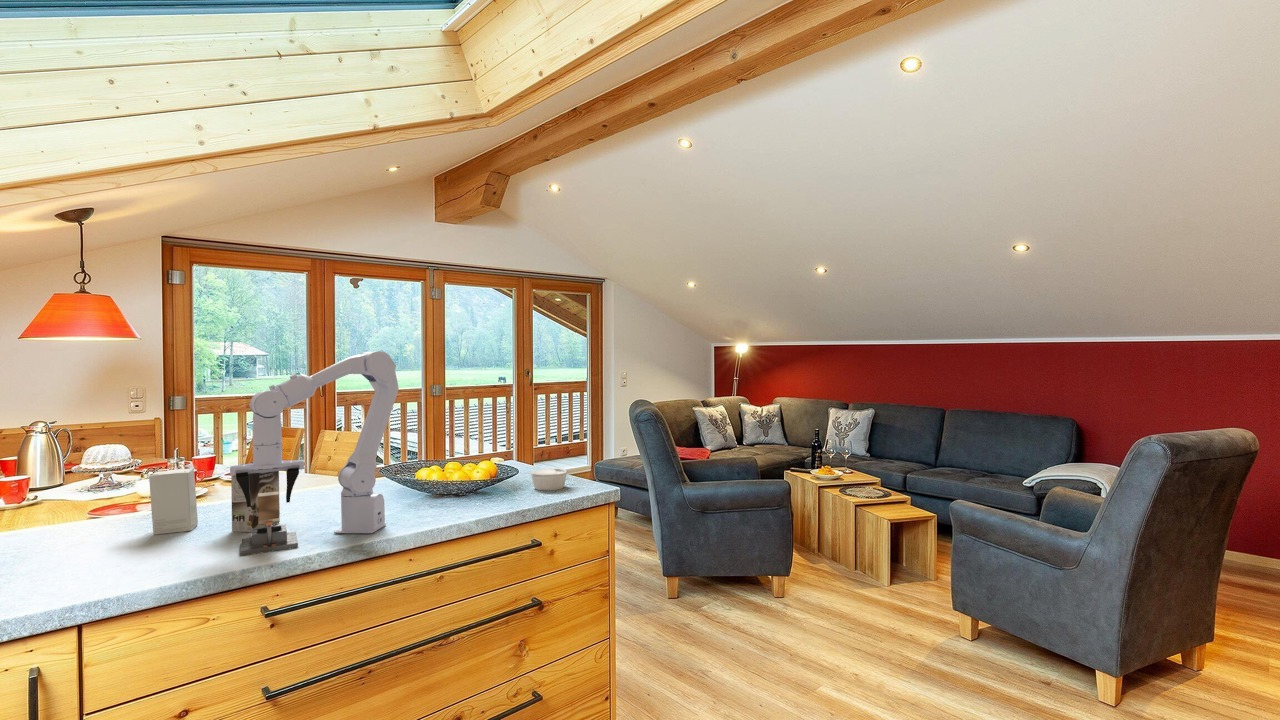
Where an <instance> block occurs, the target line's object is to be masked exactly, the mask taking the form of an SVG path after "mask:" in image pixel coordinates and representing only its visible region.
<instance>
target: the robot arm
mask: <svg viewBox="0 0 1280 720" xmlns="http://www.w3.org/2000/svg"><path fill="white" fill-rule="evenodd" d="M396 367H397V365H396V363H395V361H394V360H393V359H392V357H391V356H390V355H389V354H388V353H387V352H386V351H382V350H375V351H370V350H367V351H363V352H361V353H360V354H355V355H352V356H348V357H347V358H343V359H342V360H340V361H338V362H336V363H334V364H332V365H329V366H328V367H325V368H323V369H322V370H320V371H318V372H316V373H314V374H312V375H306V374H303V373H301V374H298V375H297V374H291V375H290V376H289V379H287V380H285V381H283V382H281V383H279V384H276V385H275V384H272V385H269V386H268V388H269V390H261V391H258V392H257V393H255V394H253V396H252V397H251V399H250V402H249V404H248V405H249V409H250V411H251V412H252V421H253V422H252V423H253V424H252V426H251V427H252V459H253V460H252V462H253V463H252V462H251V463H252V464H247V463H244V465H242V464H235V465H230V466H229V476H230V477H231V476H234V475H236V480H237V482H238V483H239V485H240V487H241V489H242V491H243V493H244V496H245V499H246V503H247V507H251V497H250V481H249V474H250V473H261V472H272V471H279V472H280V471H281V472H282V471H286V473H285V474H286V492H285V501H286V503H290V502H291V496H292V492H293V488H294V486H295V483H296V481H297V479H298V476H299V474H300V470H305V460H304V459H299V460H298V459H295V460H283V441H282V440H283V434H282V432H283V430H282V428H283V427H282V425H283V424H282V419H281V417H282V416H281V415H282V414H281V413H283V411H284V408H285V409H289V408H290V407H292V406H293V407H294V405H297V404H298V403H301V402H303V401H305V400H307V399H309V398H311V397H314V395H315V393H316V391H317V389H318V388H320V387H322V386H325V385H327V384H329V383H331V382H335V381H336V380H339V379H341V378H343V377H346V376H348V375H360V376H363V377H364V379H366V380H367V381H368V382H369V384H370V385H371V387H372V388H373V390H374V394H373V396H372V398H371V399H372V400H371V402H370V405H369V408H368V412H367V414H366V417H365V419H364V423H363V426H362V427H361V431H360V433H359V437H358V440H357V442H356V445H355V449H354V451H353V452H352V453H351V454H350V456H349V457H348V459H347V460H346V463H345V465H344V466H343V467H342V468H341V469H340V471H339V472H338V475H337V477H338V478H337V479H338V483H339V485H340V486H341V487H342V490H341V491H340V499H341V500H340V509H341V511H340V513H341V519H340V521H341V527H340V528H337V529H336V530H334V532H333V534H373V533H375V532H377V531H379V530H380V529H382V528H384V527H385V526H387V523H386V522H385V521H386V519H385V518H386V517H385V512H386V510H385V508H386V507H385V497H384V495H383V494H382V493H376V492H374V487H375V485H376V470H377V458H376V457H377V454H378V451H379V448H380V446H381V442H382V439H383V436H384V433H385V430H386V428H387V425H388V422H389V419H390V416H391V413H392V410H393V408H394V404H395V401H396V399H397V395H398V394H399V387H400V386H399V383H398V379H397V374H396V372H397V371H396ZM272 468H277V469H272ZM259 469H266V470H259Z"/></svg>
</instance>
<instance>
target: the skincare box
mask: <svg viewBox="0 0 1280 720" xmlns="http://www.w3.org/2000/svg"><path fill="white" fill-rule="evenodd" d="M194 468H195V467H194ZM194 468H193V467H192V468H191V467H190V468H182V469H172V470H163V471H162V470H161V471H159V470H158V471H155V472H154V473H152V474H151V475H149V476H148V479H149V480H148V481H149V492H150V495H149V496H150V506H151V507H150V508H151V519H152V520H151V521H152V534H153V535H162V534H164V535H165V534H171V533H181V532H189V531H190V532H191V531H192V530H193V529H195V528H196V527H198V525H199V519H198V506H197V505H198V504H197V491H196V490H197V489H196V478H195V469H194Z"/></svg>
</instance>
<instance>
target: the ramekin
mask: <svg viewBox="0 0 1280 720" xmlns="http://www.w3.org/2000/svg"><path fill="white" fill-rule="evenodd" d="M567 474H568V472H567V470H566V469H563V468H562V469H561V468H538V469H535V470H532V471H531V472H530V475H531V477H532V478H531V479H532V484H533V488H534V489H536V490H538V491H546V490H547V491H549V490H550V491H557V490H561V489H563V488H564V487H565V484H566V478H567ZM550 491H549V492H550Z"/></svg>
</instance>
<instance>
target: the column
mask: <svg viewBox="0 0 1280 720" xmlns="http://www.w3.org/2000/svg"><path fill="white" fill-rule="evenodd" d="M279 506H280V490H279V491H276V492H267V493H258V508H259V524H266V521H272V523H274V522H279V521H280V522H281V520H280V518H281V516H280V517H279Z"/></svg>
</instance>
